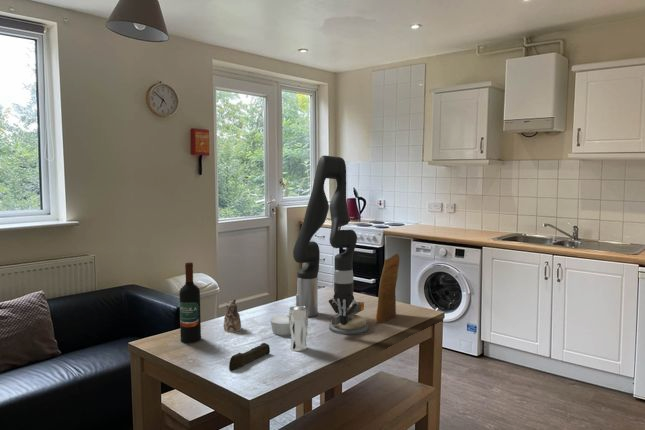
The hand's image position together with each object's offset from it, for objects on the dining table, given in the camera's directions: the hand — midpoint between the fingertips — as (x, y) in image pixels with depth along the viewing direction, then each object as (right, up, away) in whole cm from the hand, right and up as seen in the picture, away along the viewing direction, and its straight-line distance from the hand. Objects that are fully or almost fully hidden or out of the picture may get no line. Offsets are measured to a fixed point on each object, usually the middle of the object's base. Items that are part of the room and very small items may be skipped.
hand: (343, 324), depth 189 cm
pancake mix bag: (+20, -3, +25) cm, 32 cm away
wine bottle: (-59, -6, -3) cm, 60 cm away
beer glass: (-17, -6, -12) cm, 22 cm away
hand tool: (-33, -8, -24) cm, 42 cm away
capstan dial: (+2, -2, +11) cm, 11 cm away
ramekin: (-24, -5, +7) cm, 25 cm away
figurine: (-46, -4, +10) cm, 47 cm away
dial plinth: (+2, -4, +11) cm, 12 cm away
